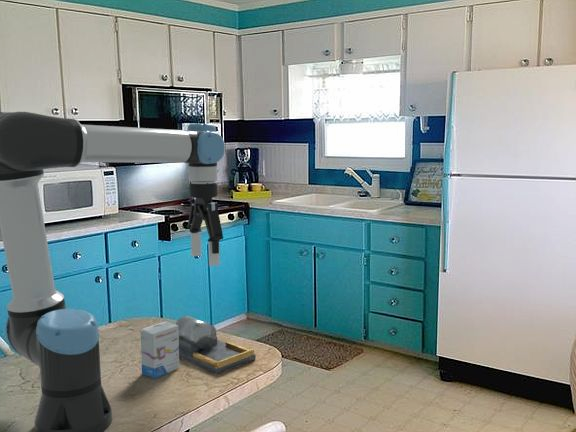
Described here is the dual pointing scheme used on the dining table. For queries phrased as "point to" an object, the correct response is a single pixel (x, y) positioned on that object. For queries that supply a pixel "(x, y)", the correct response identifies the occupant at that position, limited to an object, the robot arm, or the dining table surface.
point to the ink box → (159, 349)
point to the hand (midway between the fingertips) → (205, 260)
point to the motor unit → (209, 347)
